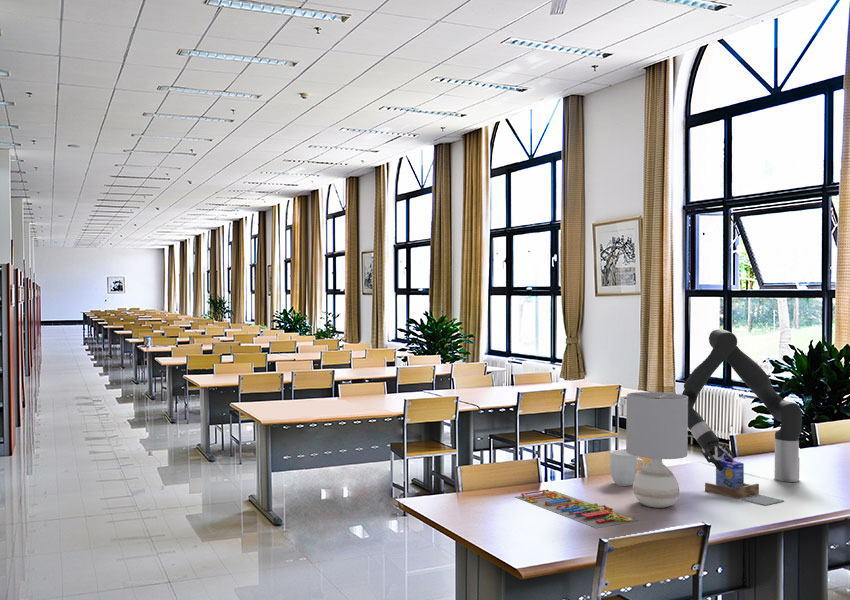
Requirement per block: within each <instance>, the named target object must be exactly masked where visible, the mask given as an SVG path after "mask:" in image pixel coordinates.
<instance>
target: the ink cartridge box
mask: <svg viewBox="0 0 850 600" xmlns="http://www.w3.org/2000/svg"><path fill="white" fill-rule="evenodd" d="M726 457H727V458H730V459H727V458H726ZM724 458H725V459H724ZM724 458H723V459H722V458H717V459H718V460H719V462H720V463H721V465H722V466H723V467H724V469H723V470H722V471H719V470H718V469H717V468H716V467H715V485H719V486H723V487H728V488H732V489H736V488H737V487H742V486H744V483H745V475H744V473H745V471H744V470H745V469H744V468H745V467H744V463H743V462H742V461H741V462H740V461H736V460H734V461H732V459H733V457H732V458H731V457H730V456H726V455H724ZM718 460H717V461H718Z"/></svg>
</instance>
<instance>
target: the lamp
mask: <svg viewBox="0 0 850 600" xmlns="http://www.w3.org/2000/svg"><path fill="white" fill-rule="evenodd" d="M625 429H626V431H625V432H626V436H625V437H626V439H625V445H626V446H625V448H626V449H625V450H626V452H627V453H628V454H631V455H634V456H638V458H645V459H650V461H649V463H647V464H646V465H645V467H643V468H642V467H641V469H640V470H639V471H637V474H636V478H635V480H634V482H633V484H632V491H633V492H632V493H633V495H634V496H635V499H636V500H637V501H638V502H639V503H640V504H641V505H644V506H646V507H650V508H654V509H655V508H656V509H663V508H668V507H671V506H672V505H674V504H675V503H676V502H677V500H678V498H679V496H680V486H679V482H678V479H677V477H676V476H675V474H674V473H673V472H672V470H670V468H668V466H666V465H665V464H664V463H663V460H677V459H679V460H680V459H683V458H686V457H688V443H689V442H688V438H689V436H688V430H689V428H688V397H687V396H685V395H682V394H681V395H680V393H670V392H657V391H655V392H653V391H639V392H638V391H637V392H629V393H626V428H625Z"/></svg>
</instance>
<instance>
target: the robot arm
mask: <svg viewBox="0 0 850 600" xmlns="http://www.w3.org/2000/svg"><path fill="white" fill-rule="evenodd" d="M708 342H709V346H711V348H712V350H711V351H710V352H709V355H708V356H707V357H706V358H705V359H704V360H703V361H702V362H700V364H699V365H697V367H695V368H694V370H693V371H691V373H690V375H689V376H688V378H687V379H686V381H685V382H684V383H683V392H682V393H681V394H680V393H679V394H680V395H685V396H687V397H688V430H689V431H690V432H691V434H692V437H694V439H695V440H696V442H697V443H698V445H699V446H700V447H701V450H700V453H701V454H702V455H703V457H704V458H705V460H706V461H707V463H708V464H709V463H711V464H713V465H714V466H715V469H716V468H717V469H718V470H719V471H722V470H723V469H724V467H723V466H722V465H721V463H720V462H719V460H718V459H719V458H720V459H725V458H724V455H726V456H730V457H731V458H732V461H735V460H734V457H735V454H734V453H733V451H732V450H731V449H730V448H729V447H728V445H727V444H725V443H724V444H722V445H721V444H720V443H719V442H720V441H719V440H720V438H718V436H717V435H716V433H715V432H714V430H712V428H711V427H710V425H709V424H708V423H707V422H706V421H705V420H704V418H703V417H702V416H701V414H700V413H699V412H697V411H696V410H695V409H694V408H693V407H694V406H695V403H696V401H697V399H698V396H699V395H700V393H701V391H702V389H704V387H705V385H706V384H707V382H708V380H709V379H710V378H711V377H712V375H713V374H714V372H715V371H716V370H717V369H718V368H719V367H720V366H721V365H722V364H723V362H724V361H726V362H727V363H728V364H729V365H730V367H731V368H732V369H733V371H734V372H735V373H736V375H737V376H738V377H739V379H740V380H742V382H743V384H745V385H746V386H747V387H748V389H750V390H751V392H752V393H753V394H755V396H756V397H757V398H758V399H759V400H760V401H761V402H762V404H763V405H764V406H765V408H766V409H767V410H768V412H769V413H770V415H771V416H772V417H773V419H775V420H776V421H777V422H780V429H779V430H776V431H775V432H774V480H776V481H780V482H788V483H795V482H796V483H797V482H799V480H800V449H799V448H800V446H799V445H800V435H801V433H802V425H803V419H802V418H803V411H802V408H801V406H800V405H799V404H797V403H796V402H793V401H787V400H785V399H784V398H782V397H781V396H780V395H779V393H777V392H776V391H775V388H774V387H773V385H772V382H771V379H770V377H769V375H768V374H767V372H766V371H764V369H763V368H762V367H761V365H759V364H758V363H757V362H756V361H755V360H753V359H752V358H751V357H750V356H749V355H748V354H746V353H744V352H743V350H741V349H740V347H738V338H737V335H735V334H734V333H733V332H730V331H729V330H725V329H722V328H719V329H713V331H710V334H709V336H708ZM726 458H727V459H730V458H728V457H726ZM717 460H718V461H717Z"/></svg>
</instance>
